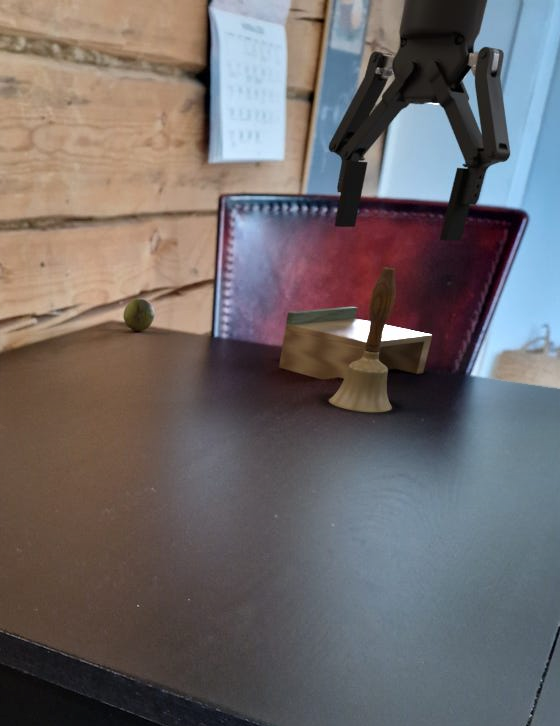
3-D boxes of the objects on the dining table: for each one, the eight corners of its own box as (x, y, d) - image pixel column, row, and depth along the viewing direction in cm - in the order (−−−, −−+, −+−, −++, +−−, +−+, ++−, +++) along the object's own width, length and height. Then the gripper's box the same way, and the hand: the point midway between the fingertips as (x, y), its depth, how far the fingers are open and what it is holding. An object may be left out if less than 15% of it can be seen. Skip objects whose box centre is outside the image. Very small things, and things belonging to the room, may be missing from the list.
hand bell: (403, 422, 99) (439, 274, 91) (332, 419, 99) (362, 270, 91) (382, 404, 106) (414, 265, 98) (316, 400, 106) (342, 261, 98)
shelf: (421, 379, 120) (435, 323, 116) (358, 390, 112) (371, 330, 108) (341, 359, 129) (352, 306, 125) (278, 367, 122) (287, 312, 118)
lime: (118, 329, 141) (120, 297, 138) (141, 328, 143) (144, 296, 141) (134, 334, 138) (137, 302, 135) (158, 332, 140) (161, 300, 138)
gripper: (321, -6, 89) (285, 221, 99) (553, -30, 72) (480, 247, 82) (366, 5, 93) (327, 221, 103) (596, -16, 76) (521, 246, 86)
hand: (394, 233), depth 93 cm, fingers open, 13 cm apart
